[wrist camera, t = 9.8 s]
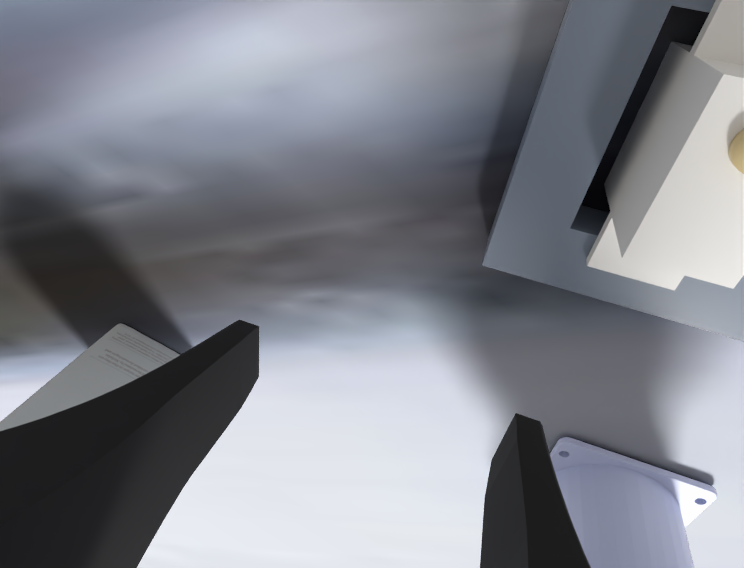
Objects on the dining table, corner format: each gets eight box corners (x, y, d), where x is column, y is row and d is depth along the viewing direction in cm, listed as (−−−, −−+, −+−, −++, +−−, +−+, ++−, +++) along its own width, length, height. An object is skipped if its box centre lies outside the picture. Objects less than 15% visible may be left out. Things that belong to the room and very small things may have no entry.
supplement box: (118, 318, 32) (-76, 477, 22) (213, 370, 32) (61, 553, 22) (114, 380, 37) (-49, 535, 27) (197, 425, 37) (65, 598, 27)
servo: (658, 249, 19) (697, 349, 14) (582, 229, 19) (593, 319, 14) (817, -14, 14) (969, -3, 9) (706, -33, 14) (790, -33, 9)
